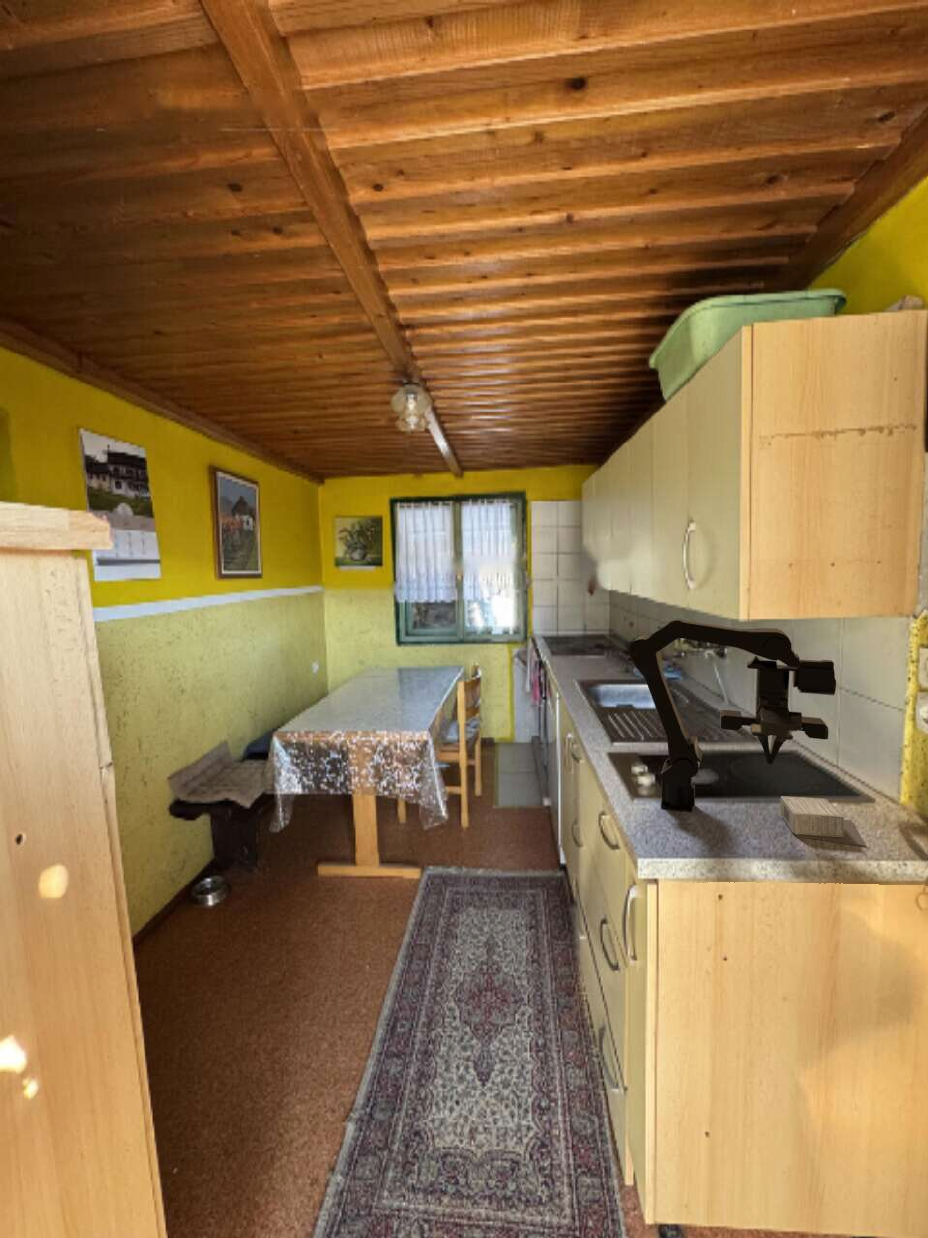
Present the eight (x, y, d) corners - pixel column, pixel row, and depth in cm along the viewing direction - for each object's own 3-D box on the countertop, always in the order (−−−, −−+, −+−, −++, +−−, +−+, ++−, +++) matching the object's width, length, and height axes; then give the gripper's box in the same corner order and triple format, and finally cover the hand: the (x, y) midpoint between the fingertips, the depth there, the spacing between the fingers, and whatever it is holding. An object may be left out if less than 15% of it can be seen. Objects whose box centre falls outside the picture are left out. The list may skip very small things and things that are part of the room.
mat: (796, 836, 99) (796, 835, 99) (788, 813, 108) (788, 812, 108) (865, 847, 94) (865, 845, 94) (851, 822, 103) (851, 820, 103)
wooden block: (793, 834, 99) (844, 839, 97) (793, 813, 99) (845, 816, 97) (779, 815, 107) (827, 819, 105) (780, 795, 106) (827, 798, 104)
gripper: (722, 696, 100) (720, 771, 102) (836, 705, 92) (832, 786, 94) (720, 683, 110) (719, 752, 112) (824, 690, 102) (820, 764, 104)
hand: (769, 763), depth 105 cm, fingers closed
